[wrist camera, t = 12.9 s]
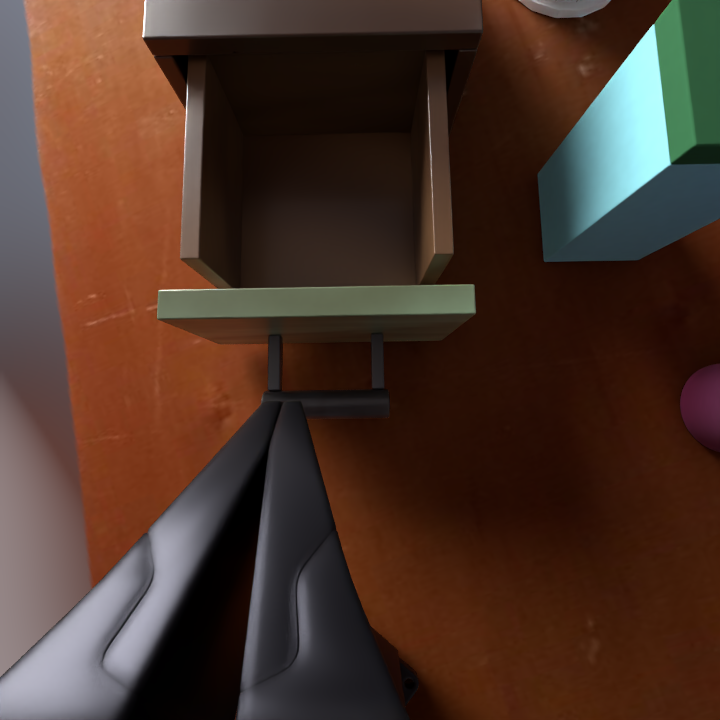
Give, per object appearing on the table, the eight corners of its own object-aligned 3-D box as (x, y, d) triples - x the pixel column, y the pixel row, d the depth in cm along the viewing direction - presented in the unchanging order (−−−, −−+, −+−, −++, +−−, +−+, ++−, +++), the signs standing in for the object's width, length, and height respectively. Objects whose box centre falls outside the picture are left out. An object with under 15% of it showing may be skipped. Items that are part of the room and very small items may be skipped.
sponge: (637, 260, 22) (869, 142, 12) (543, 262, 22) (695, 145, 12) (628, 172, 22) (841, -11, 12) (536, 173, 22) (676, -7, 12)
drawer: (444, 415, 20) (482, 421, 14) (217, 418, 20) (151, 426, 14) (433, 133, 22) (461, 25, 16) (225, 137, 22) (169, 31, 16)
